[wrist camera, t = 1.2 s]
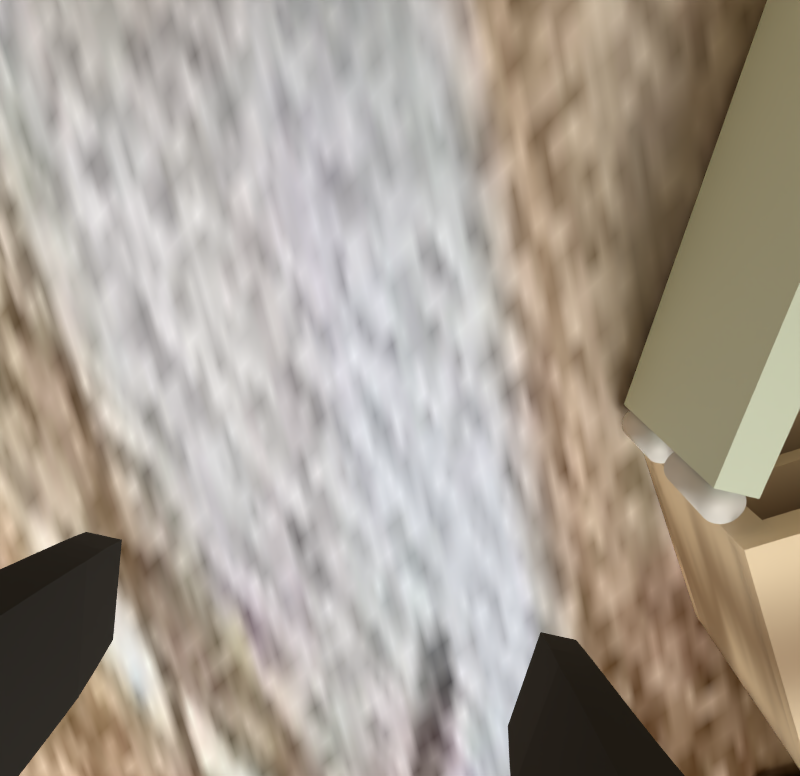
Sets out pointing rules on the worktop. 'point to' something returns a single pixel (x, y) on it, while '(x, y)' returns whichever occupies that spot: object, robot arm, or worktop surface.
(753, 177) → the cabinet door
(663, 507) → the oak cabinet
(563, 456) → the worktop surface
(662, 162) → the worktop surface
